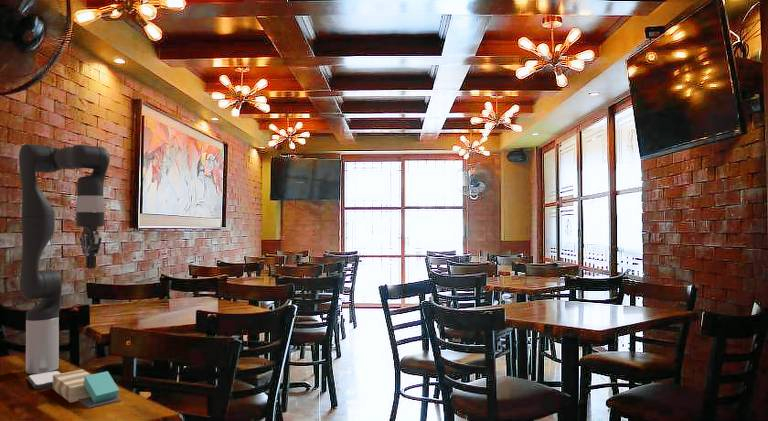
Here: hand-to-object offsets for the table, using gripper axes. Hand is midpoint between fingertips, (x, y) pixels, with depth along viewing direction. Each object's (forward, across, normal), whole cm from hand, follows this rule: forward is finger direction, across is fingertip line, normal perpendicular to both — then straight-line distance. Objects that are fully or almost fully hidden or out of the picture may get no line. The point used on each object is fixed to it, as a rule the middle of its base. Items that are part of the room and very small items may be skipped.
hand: (90, 268), depth 161 cm
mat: (+35, +18, -3) cm, 40 cm away
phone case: (+36, -14, -8) cm, 39 cm away
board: (+35, +5, -5) cm, 36 cm away
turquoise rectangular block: (+33, +17, -2) cm, 37 cm away
